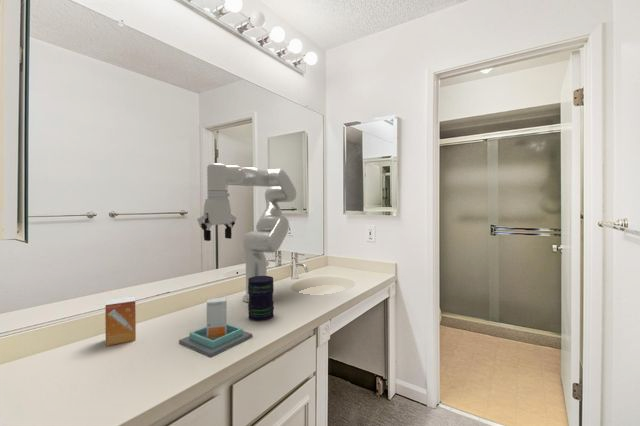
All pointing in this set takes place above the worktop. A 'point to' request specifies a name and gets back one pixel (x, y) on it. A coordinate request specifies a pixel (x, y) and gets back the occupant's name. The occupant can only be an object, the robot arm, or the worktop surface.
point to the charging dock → (215, 340)
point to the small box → (120, 320)
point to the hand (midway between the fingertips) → (218, 239)
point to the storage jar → (260, 298)
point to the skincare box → (216, 317)
